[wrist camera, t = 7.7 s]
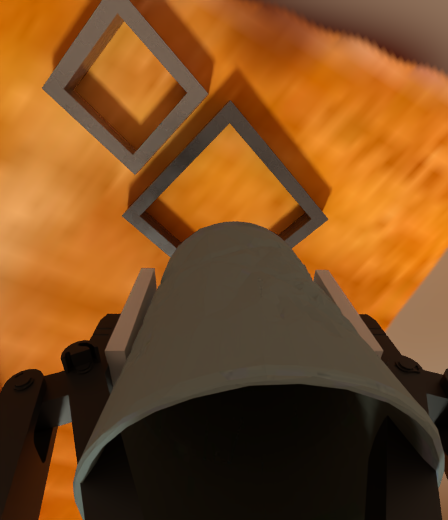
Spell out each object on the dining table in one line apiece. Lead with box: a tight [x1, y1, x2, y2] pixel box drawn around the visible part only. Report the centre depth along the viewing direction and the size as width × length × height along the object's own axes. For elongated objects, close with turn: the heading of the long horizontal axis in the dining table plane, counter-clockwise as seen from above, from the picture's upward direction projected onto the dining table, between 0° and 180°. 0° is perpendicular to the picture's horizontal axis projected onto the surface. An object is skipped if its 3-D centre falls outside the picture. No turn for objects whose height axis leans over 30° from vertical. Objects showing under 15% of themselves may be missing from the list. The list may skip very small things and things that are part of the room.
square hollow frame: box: [122, 100, 328, 257], centre depth 30 cm, size 14×14×2 cm
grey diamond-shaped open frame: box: [42, 0, 209, 174], centre depth 25 cm, size 9×9×2 cm
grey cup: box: [73, 221, 445, 520], centre depth 14 cm, size 10×10×12 cm
